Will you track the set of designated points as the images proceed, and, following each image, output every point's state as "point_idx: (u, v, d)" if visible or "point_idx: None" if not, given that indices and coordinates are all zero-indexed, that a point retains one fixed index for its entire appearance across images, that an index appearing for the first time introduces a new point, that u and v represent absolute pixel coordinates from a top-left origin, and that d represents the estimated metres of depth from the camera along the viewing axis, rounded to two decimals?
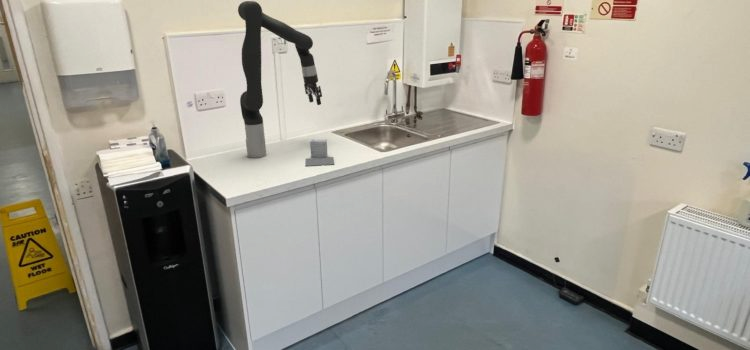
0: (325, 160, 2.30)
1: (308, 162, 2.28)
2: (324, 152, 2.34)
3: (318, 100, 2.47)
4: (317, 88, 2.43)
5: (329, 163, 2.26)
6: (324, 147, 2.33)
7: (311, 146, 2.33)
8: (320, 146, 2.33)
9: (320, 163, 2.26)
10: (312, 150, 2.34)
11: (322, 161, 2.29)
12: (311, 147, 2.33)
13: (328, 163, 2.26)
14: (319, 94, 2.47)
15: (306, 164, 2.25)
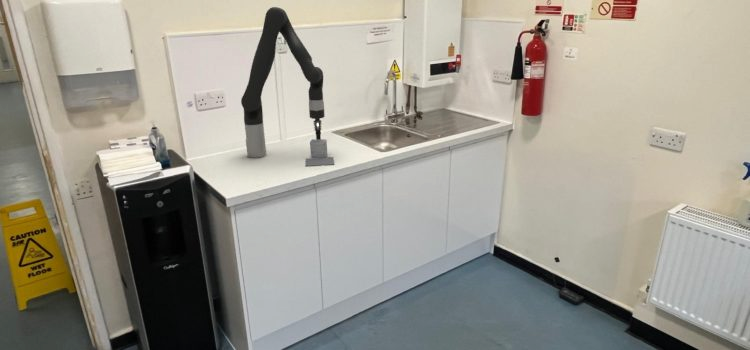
0: (325, 160, 2.30)
1: (308, 162, 2.28)
2: (324, 152, 2.34)
3: (317, 137, 2.36)
4: (316, 129, 2.30)
5: (329, 163, 2.26)
6: (324, 147, 2.33)
7: (311, 146, 2.33)
8: (320, 146, 2.33)
9: (320, 163, 2.26)
10: (312, 150, 2.34)
11: (322, 161, 2.29)
12: (311, 147, 2.33)
13: (328, 163, 2.26)
14: None
15: (306, 164, 2.25)
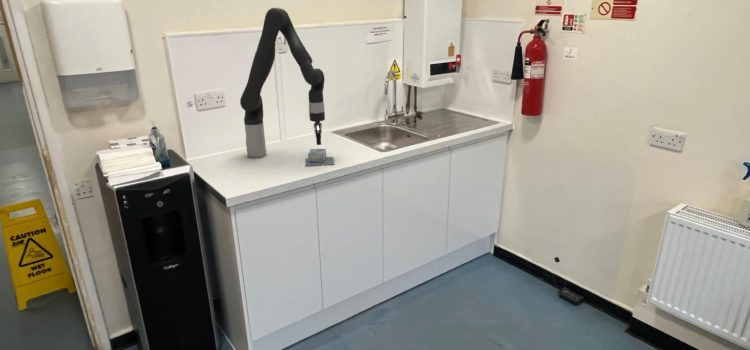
0: (325, 160, 2.30)
1: (308, 162, 2.28)
2: None
3: (317, 140, 2.31)
4: (316, 132, 2.25)
5: (329, 163, 2.26)
6: None
7: None
8: None
9: (320, 163, 2.26)
10: None
11: None
12: None
13: (328, 163, 2.26)
14: None
15: (306, 164, 2.25)
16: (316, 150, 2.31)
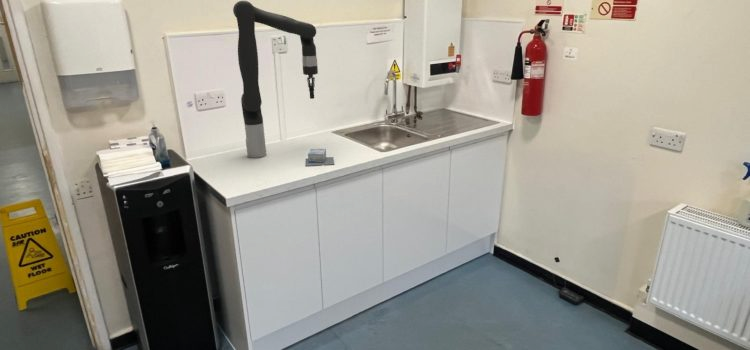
0: (325, 160, 2.30)
1: (308, 162, 2.28)
2: None
3: (310, 93, 2.40)
4: (309, 84, 2.34)
5: (329, 163, 2.26)
6: None
7: None
8: None
9: (320, 163, 2.26)
10: None
11: None
12: None
13: (328, 163, 2.26)
14: None
15: (306, 164, 2.25)
16: (316, 150, 2.31)
